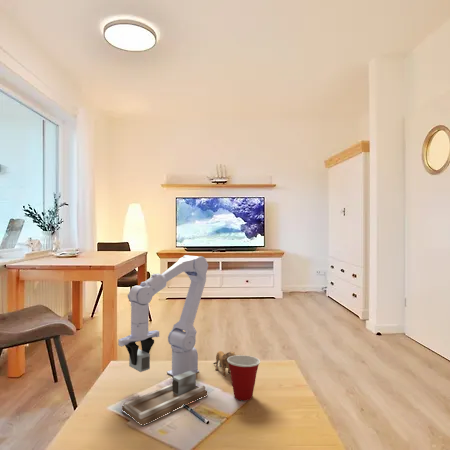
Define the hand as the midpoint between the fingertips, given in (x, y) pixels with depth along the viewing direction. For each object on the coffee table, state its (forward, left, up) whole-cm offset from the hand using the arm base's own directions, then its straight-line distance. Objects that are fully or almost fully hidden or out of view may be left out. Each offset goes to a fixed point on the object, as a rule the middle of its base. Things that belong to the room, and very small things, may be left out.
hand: (139, 362), depth 113 cm
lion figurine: (-30, +11, -9) cm, 33 cm away
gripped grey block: (0, 0, -2) cm, 2 cm away
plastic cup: (-21, +28, -9) cm, 36 cm away
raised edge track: (-1, +14, -9) cm, 17 cm away
